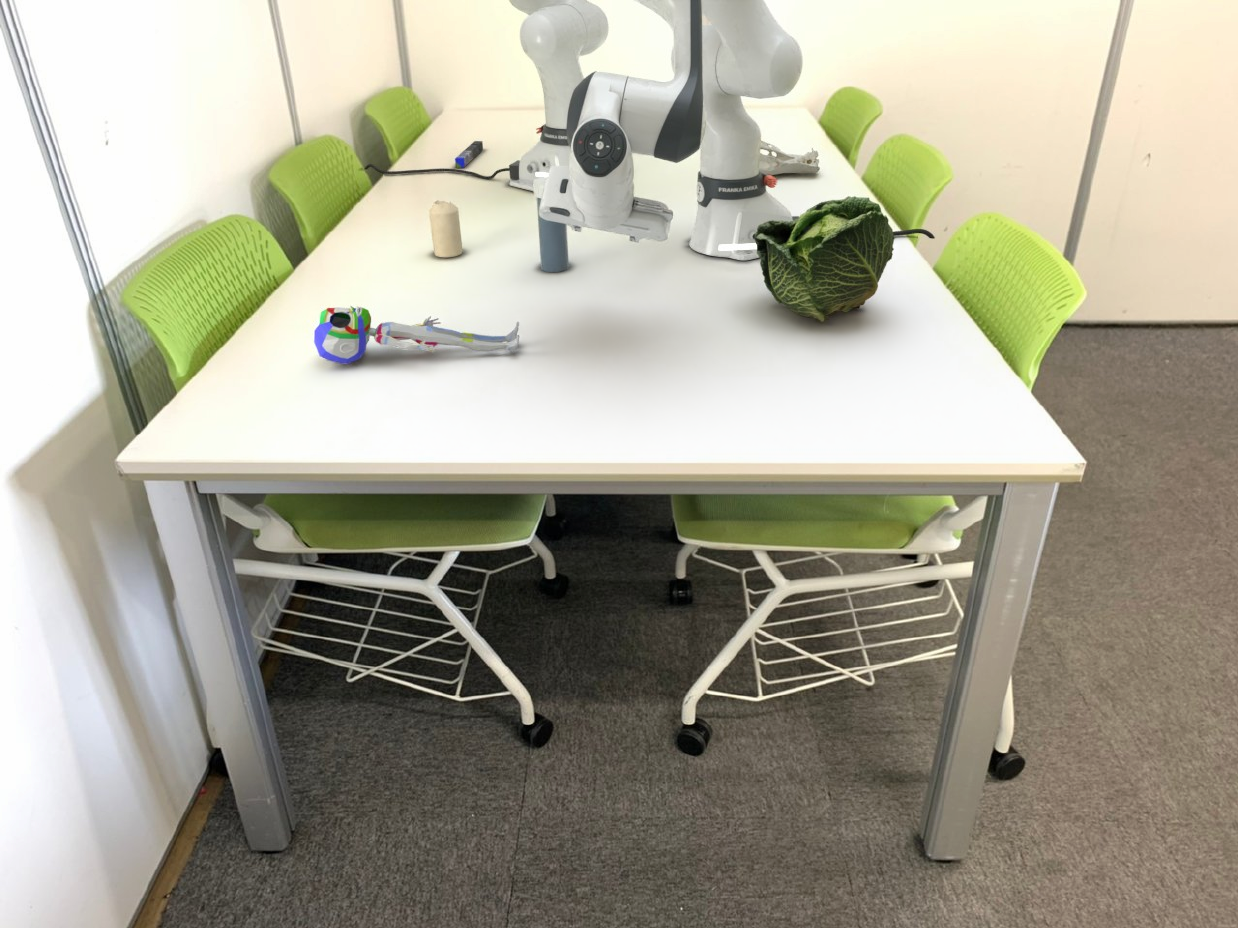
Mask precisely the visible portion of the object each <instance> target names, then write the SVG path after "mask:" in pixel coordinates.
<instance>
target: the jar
mask: <svg viewBox="0 0 1238 928" xmlns="http://www.w3.org/2000/svg"><path fill="white" fill-rule="evenodd" d="M540 202H541V198H537V197H536V211H537V225H538V227H537V228H538V243H539V257H540V269H541V271H543V272H546V273H547V272H548V273H560V272H561V273H562V272H564V271H567V270H568V269H569V268H570V267H569V265H570V264H569V243H568V242H569V241H568V225H567V224H564V223H559V222H553V221H547V220H545V219H543V218H541V217H540V216H539V207H540Z"/></svg>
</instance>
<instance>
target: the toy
mask: <svg viewBox="0 0 1238 928" xmlns="http://www.w3.org/2000/svg"><path fill="white" fill-rule="evenodd" d="M349 307H350V308H349ZM349 307H327V308H325V309H324V310H322V311H321V312H320V314H319V317H318V319H317V321H316V322H315V323H316V324H315V326H314V327H313V331H312V335H313V336H312V343H313V345H314V346H315V347H314V348H316V350H317V353H318V355H319V357H321V358H323V359H325V360H326V361H329V362H333V363H336V364H344V365H348V364H350V363H353V362H355V361H358V360H360V359H361V358H362V356H363V355H364V353H365V352H366V351H367V345H368V343H369V342H370V337H373V339H374V341H375V343H377V344H379V345H383V346H384V345H386V346H390V347H394V348H398V349H400V350H405V351H414V350H421V351H422V350H423V351H427V352H430V353H435V351H437V349H436V348H434V347H436V346H438V345H439V346H454V347H462V348H468V349H471V350H475V351H477V352H481V351H482V352H490V351H500V350H505V349H506V350H507V351H510V352H512V353H515V352H516V350H517V349H518V347H519V343H520V335H519V334H518V332H519V327H520V322H519V321H517V322H516V326H515V327H514V330H512V331H511V332H510V333H508V334H506V335H485V334H478V333H472V332H471V333H470V332H460V331H457V330H453V329H449V328H443V327H438V326H434V325H440V324H442V322H440V321H439V322H437V321H438V320H439V318H434V319H431V318H432V317H431V316H430V315H429V317H428V318H425V319H424V321H423V322H422V323H415V324H412V325H410V324H405V323H398V322H396V321H395V322H394V321H386V322H380V324H378V325H377V327H376V328H375V327H372V326H371V325H372V316H371V313H370V311H369V309H366V308H365V307H362V306H356V307H353V306H352V305H349ZM430 319H431V320H430ZM435 321H436V322H435ZM404 340H412V341H414V342H416V343H413V342H409V341H404Z"/></svg>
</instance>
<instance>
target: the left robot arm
mask: <svg viewBox="0 0 1238 928" xmlns="http://www.w3.org/2000/svg"><path fill="white" fill-rule="evenodd" d="M508 1H509V3H510V4H511V5H512V6H513V7H514V8H515V9H516V10H518V11H520V12H522V13H524V14H527V15H528V16H526V17H525V19H523V21H522V23H521V26H520V29H519V41H520V45H521V48H522V51H523V53H525V55H526V56H527V57H528V58H529V60H531V61H532V63H533V64H534V66H535V68H536V71H537V73H538V76H539V81H540V83H541V88H542V93H543V104H544V105H543V106H544V118H545V119H544V120H545V121H544V122H545V123H544V124H543V125H541V126H540V127H537V128H535V130H536V132H535V133H536V134H540V138H539V141H538V142H536V143H535V144H534V145H533V146H532V147H530V149H529V150H527V151H526V152H525V153H524V154H523V155H522V156H521V157H520V158H519V160H516V161H514V162H512V163H511V164H509V165H508V167H504V168H499V169H497V170H495V171H494V172H493V173H492V174H491V175H488V176H487V175H482V174H479V173H478V172H477V173H476V172H474V171H469V170H463V169H458V168H444V167H443V168H442V167H441V168H426V169H408V170H392V171H391V170H382V169H380V168H379V167H376V165H374V164H373V163H369V164H367V165H366V166H364V170H368V169H369V168H372V169H374V170H375V171H376V172H378V173H380V174H381V175H382V174H383V175H404V174H420V173H434V172H435V173H436V172H448V173H449V172H452V173H460V174H466V175H471V176H475V177H477V178H479V179H483V180H492V179H494V178H495V177H496V176H497V175H498V174H500V173H503V172H509V179H510V180H509V186H511V187H514V188H517V189H518V188H519V189H523V190H527V191H531V192H534V191H533V184H534V183H533V181H534V180H535V179H538V178H541V177H548V174H549V171H550V168H551V167H552V166H569V155H570V146H569V144H568V141H567V131H566V128H567V115H568V109H569V104H570V100H571V97H572V94H573V91H574V89H575V88H576V87H577V86H578V85H579V83H580V82H581V81H582V80H583V79H585V76H584V75H583V71H582V68H581V63H580V57H583V56H588V55H590V54H592V53H593V52H595V51H596V50H598V49H599V48H600V47H602V46H603V45H604V43H605V42H606V40H607V38H608V36H609V28H610V27H609V21H608V18H607V15H606V13H605V11H603V9H602V8H601V7H600V6H598V5H596V4H595V3H592V2H590V1H588V0H508Z"/></svg>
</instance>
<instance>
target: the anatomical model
mask: <svg viewBox="0 0 1238 928" xmlns="http://www.w3.org/2000/svg"><path fill="white" fill-rule="evenodd" d="M760 150H764V151H767V152H768V154H763V153H761V152H760V162H759V171H760V172H762V173H763V174H765V175H771V176H775V175H780V174H793V173H794V174H807V175H808V174H814V173H818V172H819V171H820V170H821V167H820V166H819V164H820V159H819V158H818V157H819V152H818V150H814V147H811V152H810V151H807V152H806V153H805V154H793V153H787V152H784V151H782V150H781V149H780V148H779V147H777V146H776V145H774V144H771V143H769V142H766V141H765V140H761V147H760ZM773 153H775V154H776V156H775V155H773Z"/></svg>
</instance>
